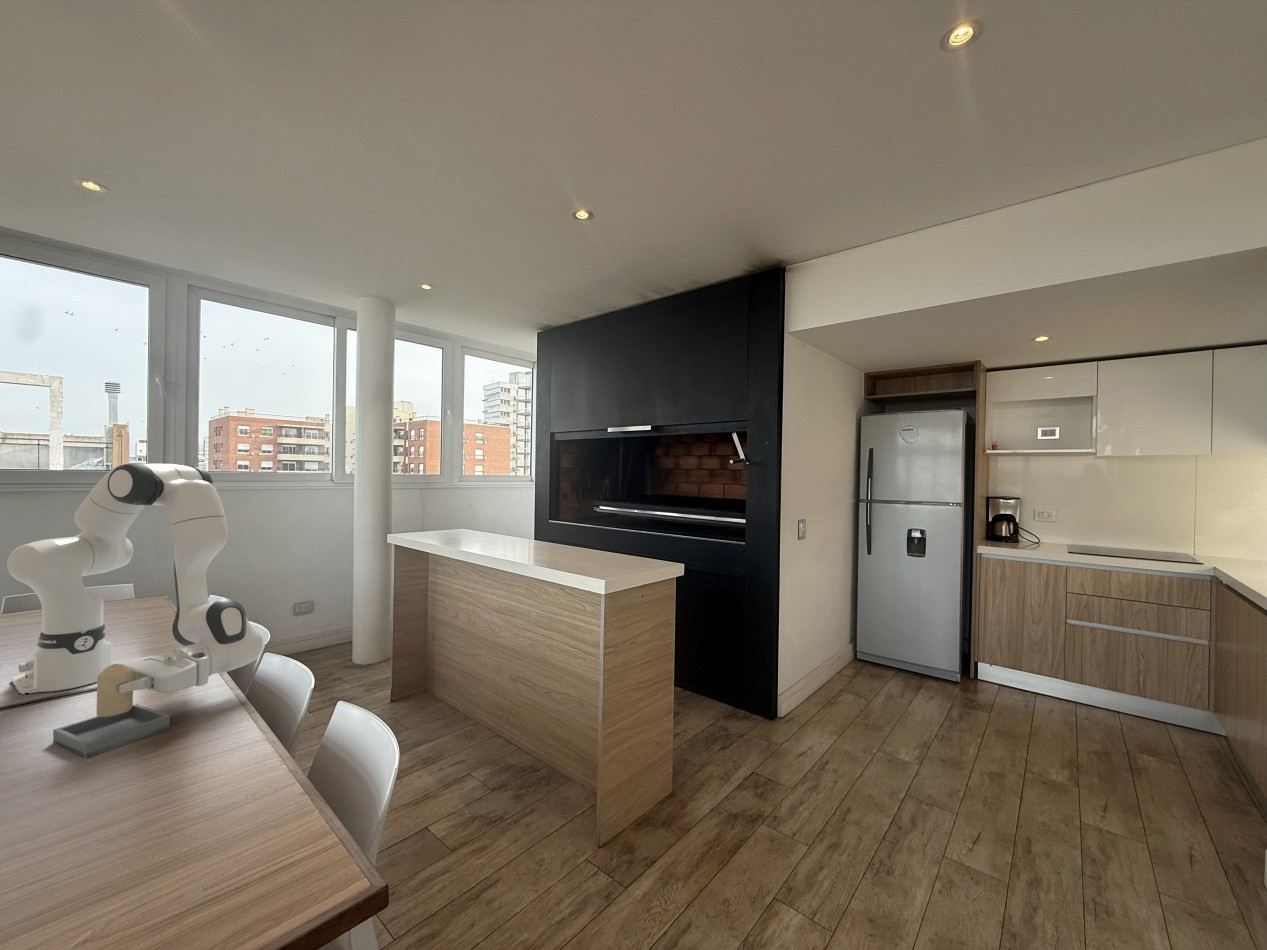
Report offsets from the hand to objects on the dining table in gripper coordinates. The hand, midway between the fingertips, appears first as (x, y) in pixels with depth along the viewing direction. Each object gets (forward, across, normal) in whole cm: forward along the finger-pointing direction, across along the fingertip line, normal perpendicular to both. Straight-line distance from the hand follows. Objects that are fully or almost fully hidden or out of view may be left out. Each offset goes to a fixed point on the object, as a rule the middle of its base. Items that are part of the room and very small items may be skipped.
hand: (109, 686), depth 110 cm
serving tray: (-1, 0, +11) cm, 11 cm away
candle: (-1, 0, +6) cm, 6 cm away
